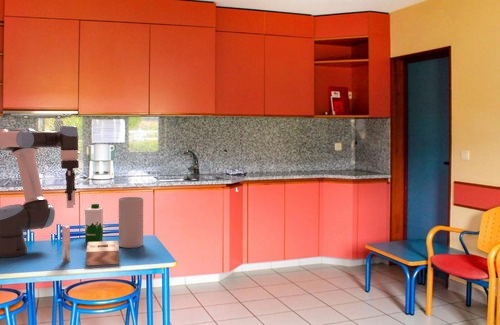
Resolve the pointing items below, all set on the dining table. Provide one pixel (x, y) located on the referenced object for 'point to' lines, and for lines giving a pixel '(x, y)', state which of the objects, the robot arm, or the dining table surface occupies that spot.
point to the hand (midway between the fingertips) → (71, 206)
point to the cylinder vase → (130, 222)
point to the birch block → (102, 253)
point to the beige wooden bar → (66, 243)
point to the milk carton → (94, 223)
